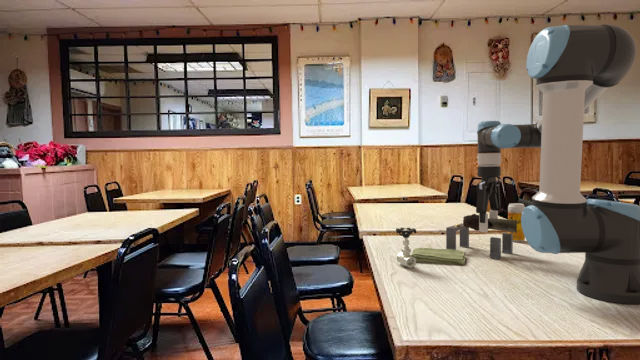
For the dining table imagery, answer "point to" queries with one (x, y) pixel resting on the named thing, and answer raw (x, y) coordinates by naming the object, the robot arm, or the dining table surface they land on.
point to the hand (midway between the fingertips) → (488, 230)
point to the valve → (406, 248)
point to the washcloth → (438, 256)
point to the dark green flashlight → (490, 223)
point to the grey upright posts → (464, 241)
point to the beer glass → (515, 214)
